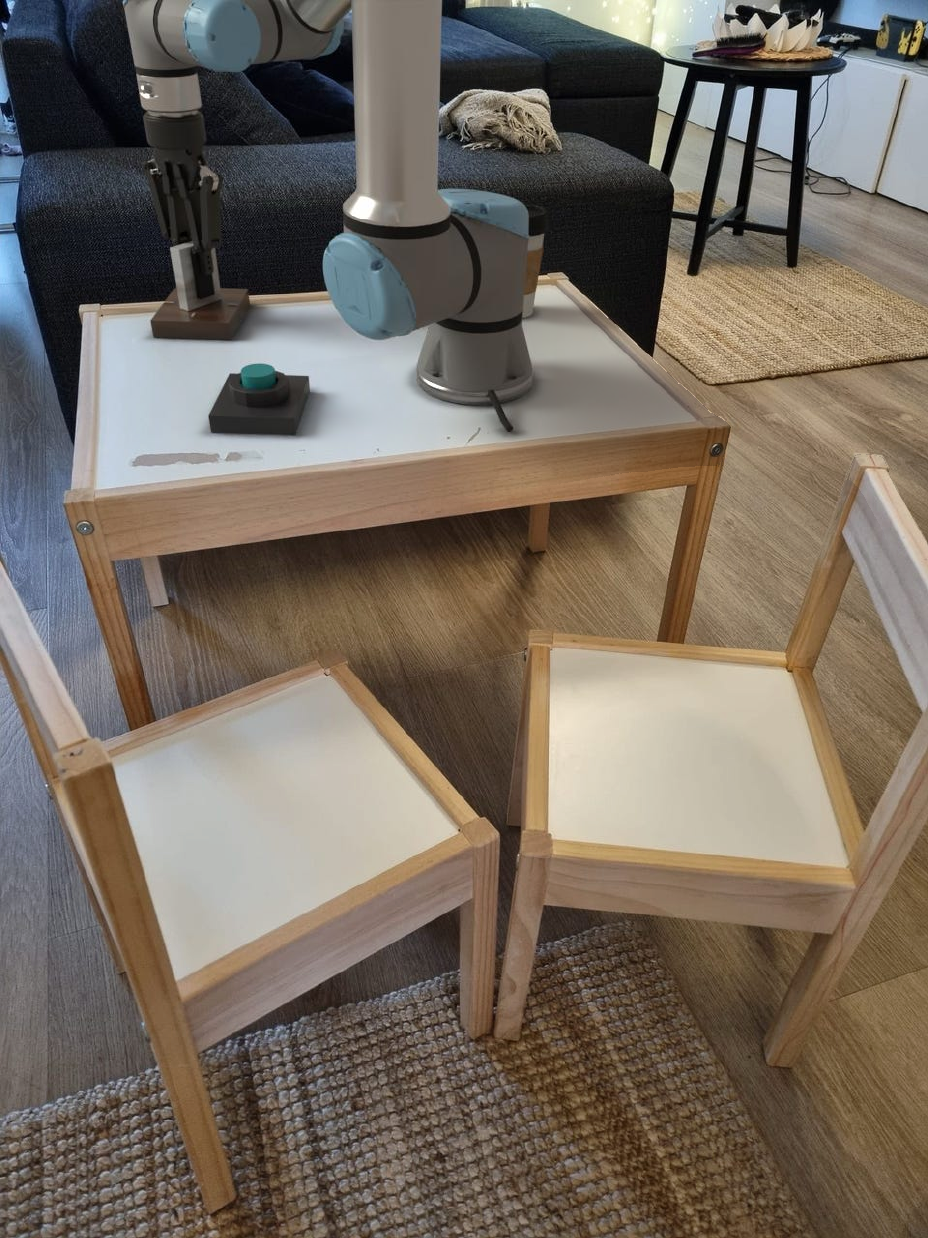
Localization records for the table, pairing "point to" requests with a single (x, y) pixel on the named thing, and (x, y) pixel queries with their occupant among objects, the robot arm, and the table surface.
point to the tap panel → (201, 317)
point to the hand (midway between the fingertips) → (199, 293)
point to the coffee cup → (534, 254)
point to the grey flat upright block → (191, 278)
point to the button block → (260, 406)
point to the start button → (258, 376)
